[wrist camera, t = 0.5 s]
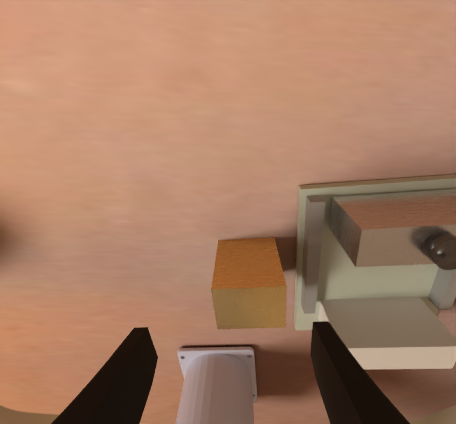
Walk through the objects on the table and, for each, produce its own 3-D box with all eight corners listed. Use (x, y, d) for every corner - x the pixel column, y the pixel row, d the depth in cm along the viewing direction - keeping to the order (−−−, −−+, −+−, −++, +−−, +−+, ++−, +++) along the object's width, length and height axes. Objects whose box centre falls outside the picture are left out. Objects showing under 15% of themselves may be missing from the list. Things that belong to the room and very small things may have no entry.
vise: (425, 319, 22) (475, 379, 17) (293, 323, 23) (307, 380, 18) (480, 172, 16) (578, 203, 11) (298, 185, 17) (320, 218, 12)
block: (274, 271, 21) (285, 327, 16) (222, 274, 21) (217, 329, 16) (274, 237, 19) (286, 286, 14) (218, 240, 19) (211, 289, 15)
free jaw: (447, 221, 17) (534, 272, 12) (328, 228, 17) (364, 279, 12) (459, 188, 16) (558, 230, 11) (332, 197, 16) (371, 240, 11)
